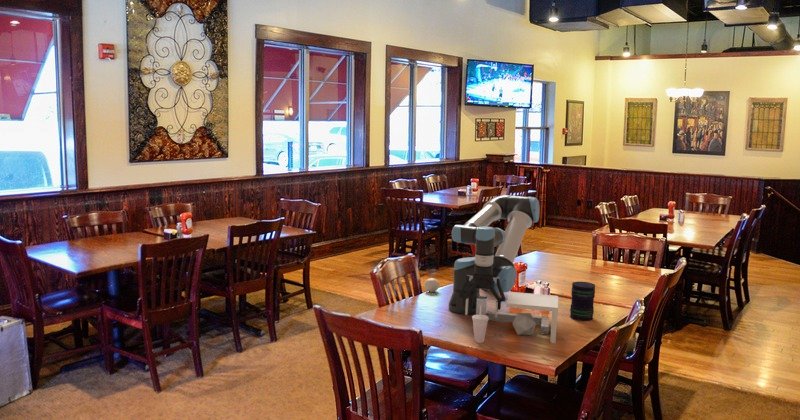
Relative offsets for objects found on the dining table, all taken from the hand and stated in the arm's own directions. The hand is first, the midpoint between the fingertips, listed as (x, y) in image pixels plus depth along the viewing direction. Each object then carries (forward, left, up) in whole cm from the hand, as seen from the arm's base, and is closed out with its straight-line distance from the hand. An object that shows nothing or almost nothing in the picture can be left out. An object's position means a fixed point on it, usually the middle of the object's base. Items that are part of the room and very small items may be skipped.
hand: (481, 315), depth 284 cm
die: (+18, -8, -4) cm, 20 cm away
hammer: (+13, +2, -3) cm, 13 cm away
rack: (+21, -7, -3) cm, 22 cm away
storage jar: (+41, +22, -4) cm, 47 cm away
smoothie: (+2, -23, -3) cm, 23 cm away
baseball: (-29, +43, -4) cm, 52 cm away
